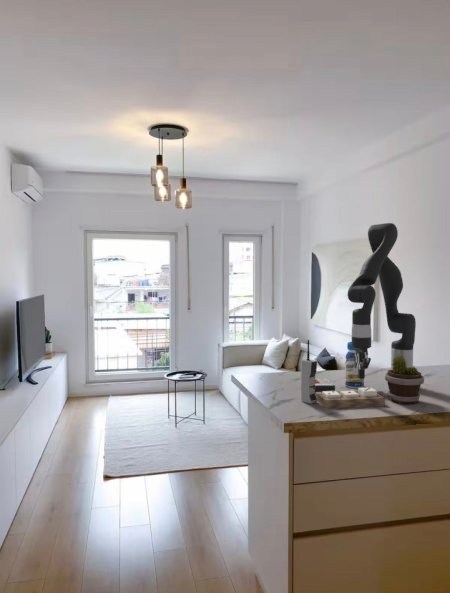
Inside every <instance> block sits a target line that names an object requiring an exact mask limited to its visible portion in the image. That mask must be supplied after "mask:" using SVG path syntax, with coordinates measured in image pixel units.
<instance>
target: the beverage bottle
mask: <svg viewBox="0 0 450 593" xmlns="http://www.w3.org/2000/svg"><path fill="white" fill-rule="evenodd" d="M346 347H347V350H348V351H347V353H346V354H345V359H346V360H345V361H344V363H345V376H344V377H345V380H344V381H345V383H344V384H345V387H347V388H349V389H358V388H365V378H364V379H360V378H358V369H357V366H355V362H354V358H353V353H355V348H354V347H352V341H348V342H347V344H346Z"/></svg>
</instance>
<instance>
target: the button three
mask: <svg viewBox="0 0 450 593" xmlns="http://www.w3.org/2000/svg"><path fill="white" fill-rule="evenodd" d="M357 391H358V394H359V395H361V396H363V397H370V396H377V394H378V391H377V389H374V388H373V387H362V388H357Z"/></svg>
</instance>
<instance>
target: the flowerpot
mask: <svg viewBox="0 0 450 593" xmlns="http://www.w3.org/2000/svg"><path fill="white" fill-rule="evenodd" d="M396 356H397V355H396ZM398 356H399V357H398ZM398 356H397V358H394V360H392V361H393V363H392V366H393V370H391V369H388V370H387V372H386V373H385V374H384V375H385V376H384V380H385V381H386V382H387V385H388V386H387V387H388V392H387V394H388V397H389V398H390V401H392V402H394V403H397V404H401V405H414V404H416V403H417V402H418V401H419V400H420V398H421V394H420V389H421V385H422V384H424V383H425V378H424V376H423V375H422V373H421V371H418V367H416V366H415V365H414V364H413V366H415V367H413V366H412V367H411V366H410V367H409V366H408V367H409V368H408V367H406V366H405V365H407V364H405V362H406V361H405V359H403V358H402V356H403V355H401V356H400V354H399V355H398Z"/></svg>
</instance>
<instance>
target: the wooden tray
mask: <svg viewBox="0 0 450 593" xmlns="http://www.w3.org/2000/svg"><path fill="white" fill-rule="evenodd" d="M335 391H336V390H335ZM340 391H341V390H340ZM340 391H339V390H338V391H336V392H338V393H339V394H340ZM354 391H355V392H356V393H358V390H354ZM315 395H316V398H317V402H318V403H319V404H320V405H321V406H322V405H323V406H322V407H323V408H325V409H333V408H335V409H336V408H337V409H338V408H339V409H340V408H356V407H357V408H358V407H359V408H360V407H361V408H362V407H379V406H386V397H384V396H383V395H380V394H379V393H377V396H370V397H363V396H361V395H359V397H343V396H342V395H341V398H325V397H324V396H323V395H322V392H315Z"/></svg>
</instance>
